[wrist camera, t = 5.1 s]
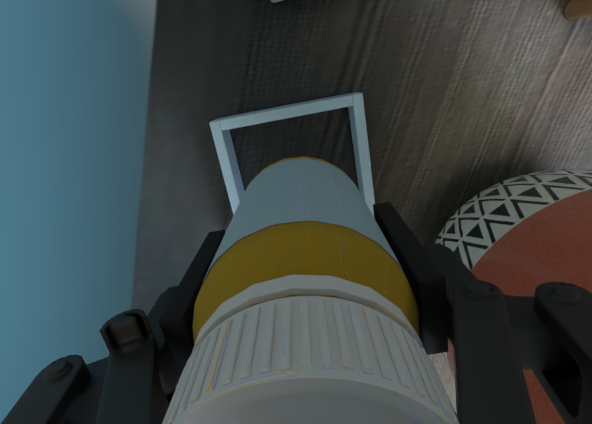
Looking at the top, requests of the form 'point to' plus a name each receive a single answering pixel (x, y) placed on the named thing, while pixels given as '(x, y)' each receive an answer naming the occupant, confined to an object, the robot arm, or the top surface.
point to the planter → (527, 244)
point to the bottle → (306, 315)
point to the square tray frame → (288, 111)
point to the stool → (578, 9)
